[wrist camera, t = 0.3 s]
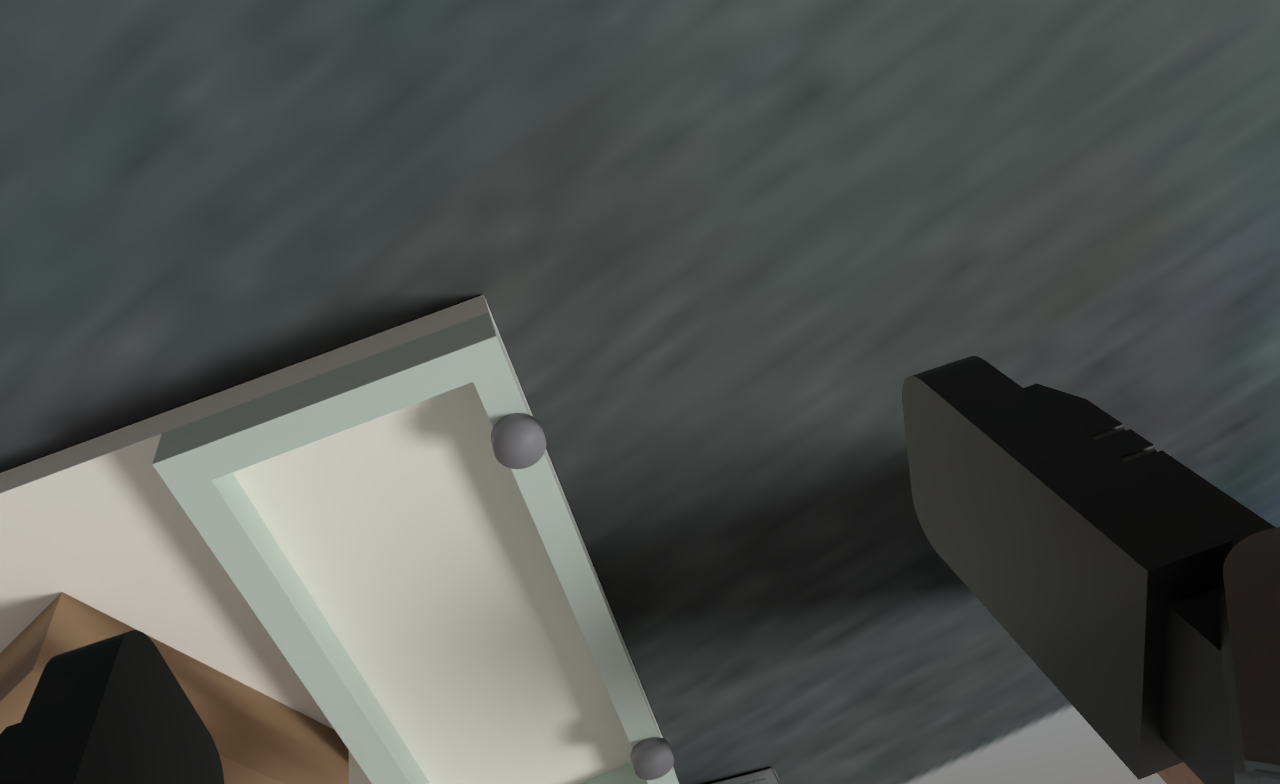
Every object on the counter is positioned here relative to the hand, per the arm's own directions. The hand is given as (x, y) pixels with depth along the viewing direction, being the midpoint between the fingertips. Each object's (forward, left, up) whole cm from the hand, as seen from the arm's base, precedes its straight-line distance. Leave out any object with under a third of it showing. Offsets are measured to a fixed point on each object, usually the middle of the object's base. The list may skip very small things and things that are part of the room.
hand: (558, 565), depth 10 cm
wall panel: (+14, -9, -17) cm, 25 cm away
